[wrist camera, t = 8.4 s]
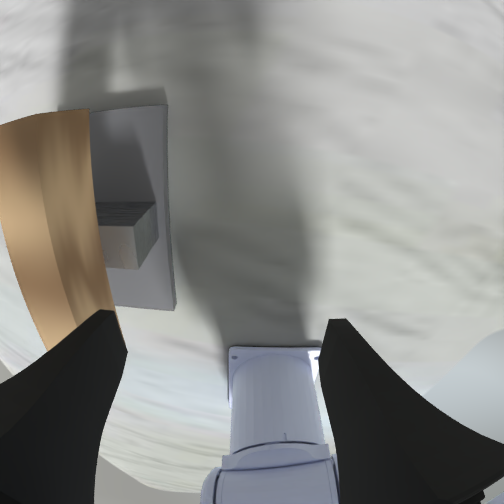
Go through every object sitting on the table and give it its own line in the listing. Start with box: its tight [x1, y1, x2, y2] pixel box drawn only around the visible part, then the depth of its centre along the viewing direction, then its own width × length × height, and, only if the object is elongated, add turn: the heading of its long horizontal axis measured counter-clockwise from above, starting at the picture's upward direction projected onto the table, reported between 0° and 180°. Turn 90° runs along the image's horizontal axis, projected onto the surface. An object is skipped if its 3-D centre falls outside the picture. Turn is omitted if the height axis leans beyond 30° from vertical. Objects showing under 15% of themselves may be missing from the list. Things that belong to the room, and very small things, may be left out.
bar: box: [0, 109, 126, 351], centre depth 12 cm, size 14×3×4 cm, turn 177°
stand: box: [89, 105, 177, 311], centre depth 16 cm, size 14×8×5 cm, turn 177°
